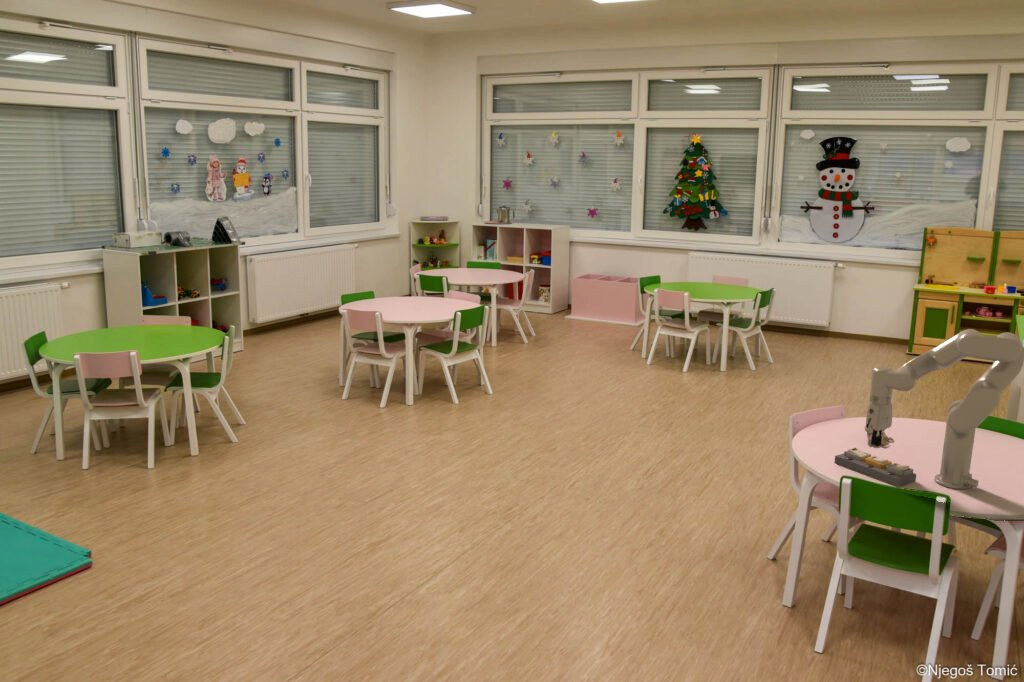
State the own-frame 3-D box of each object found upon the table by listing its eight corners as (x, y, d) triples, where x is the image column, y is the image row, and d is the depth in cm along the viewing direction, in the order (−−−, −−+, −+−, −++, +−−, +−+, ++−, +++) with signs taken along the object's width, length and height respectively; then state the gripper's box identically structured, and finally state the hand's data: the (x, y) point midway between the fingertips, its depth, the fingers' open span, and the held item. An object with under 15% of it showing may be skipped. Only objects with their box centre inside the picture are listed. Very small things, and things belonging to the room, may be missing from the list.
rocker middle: (887, 462, 320) (887, 459, 320) (881, 464, 318) (881, 461, 318) (874, 458, 325) (874, 456, 324) (868, 460, 322) (868, 457, 322)
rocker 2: (909, 468, 312) (909, 465, 312) (903, 470, 310) (902, 467, 310) (896, 467, 317) (895, 464, 317) (889, 469, 315) (889, 466, 315)
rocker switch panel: (915, 481, 312) (916, 470, 311) (898, 487, 307) (900, 475, 306) (850, 458, 335) (851, 447, 334) (834, 462, 330) (835, 452, 329)
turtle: (870, 442, 364) (864, 420, 363) (894, 438, 359) (887, 416, 359) (870, 453, 349) (863, 430, 349) (894, 448, 345) (887, 425, 345)
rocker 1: (866, 456, 328) (867, 454, 327) (859, 458, 326) (860, 456, 325) (854, 449, 332) (855, 447, 331) (848, 451, 330) (849, 448, 329)
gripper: (876, 405, 310) (872, 451, 314) (901, 398, 318) (896, 444, 322) (859, 400, 317) (854, 446, 321) (883, 394, 324) (879, 439, 328)
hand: (875, 445), depth 321 cm, fingers closed
